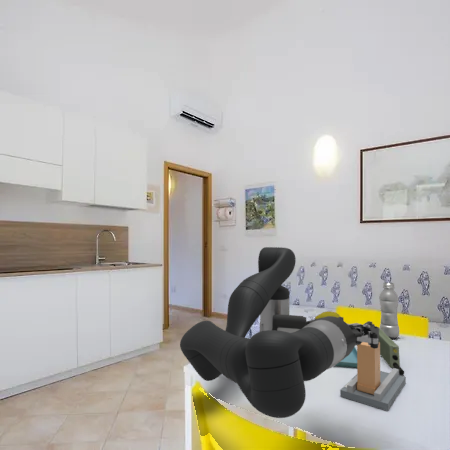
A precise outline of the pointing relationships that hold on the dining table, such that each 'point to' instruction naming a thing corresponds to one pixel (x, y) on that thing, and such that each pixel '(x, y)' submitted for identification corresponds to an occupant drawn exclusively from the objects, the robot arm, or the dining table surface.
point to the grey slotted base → (382, 395)
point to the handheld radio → (389, 351)
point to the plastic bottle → (389, 311)
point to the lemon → (327, 314)
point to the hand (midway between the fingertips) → (355, 324)
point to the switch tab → (368, 368)
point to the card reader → (288, 323)
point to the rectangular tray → (349, 360)
